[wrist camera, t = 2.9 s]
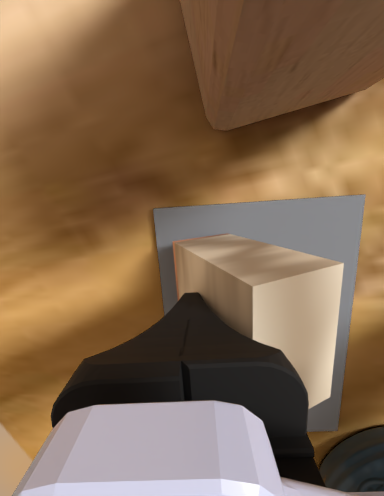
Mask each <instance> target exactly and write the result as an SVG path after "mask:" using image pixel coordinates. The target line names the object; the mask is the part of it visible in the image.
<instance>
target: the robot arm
mask: <svg viewBox="0 0 384 496" xmlns="http://www.w3.org/2000/svg"><path fill="white" fill-rule="evenodd" d="M308 408H309V400H308V392H307V390H306V388H305V386H304V383H303V381H302V380H301V378H300V376H299V374H298V373H297V371H296V370H295V368H294V367H293V365H292V364H291V362H290V361H289V360H288V358H287V357H286V356H285V355H284V353H283V352H282V350H280V349H277V348H274V347H271V346H268V345H265V344H262V343H260V342H257V341H255V340H253V339H250V338H248V337H246V336H244V335H242V334H240V333H239V332H237V331H235V330H234V329H232V328H231V327H229V326H228V325H226V324H225V323H224V322H223V321H221V320H220V319H219V318H218V317H217V316H216V315H215V314H214V313H213V312H212V310H211V309H210V308H209V307H208V305H207V304H206V303H205V301H204V300H203V298H202V296H201V295H200V294H199V293H198V292H191V293H184V294H183V295H182V297H181V298H180V299H179V301H178V302H177V303H176V304H175V305H174V306H173V308H172V309H171V310H170V311H169V312H168V313H167V314H166V315H165V316H164V317H163V318H162V319H161V320H160V321H158V322H157V323H156V324H155V325H153V326H152V327H151V328H149V329H148V330H146V331H145V332H143V333H141V334H140V335H138V336H136V337H135V338H133V339H131V340H129V341H127V342H125V343H123V344H121V345H119V346H117V347H115V348H112V349H110V350H108V351H105V352H102V353H100V354H97V355H94V356H91V357H89V358H86V359H84V360H83V361H82V363H81V364H80V365H79V367H78V368H77V370H76V371H75V372H74V374H73V375H72V377H71V378H70V380H69V381H68V383H67V384H66V386H65V387H64V389H63V390H62V392H61V394H60V395H59V397H58V398H57V400H56V401H55V403H54V404H53V408H52V413H51V421H52V427H53V429H52V431H51V432H50V434H49V436H48V437H47V439H46V440H45V442H44V444H43V445H42V447H41V449H40V450H39V452H38V454H37V455H36V457H35V459H34V460H33V462H32V464H31V466H30V467H29V469H28V470H27V472H26V473H25V475H24V477H23V478H22V480H21V482H20V483H19V485H18V487H17V488H16V490H15V491H14V493H13V495H12V496H384V492H348V493H347V492H343V491H339V490H334V489H330V488H326V486H325V483H324V481H323V479H322V477H321V474H320V472H319V470H318V468H317V465H316V463H315V461H314V459H313V457H314V449H313V446H312V444H311V442H310V440H309V438H308V435H307V422H308Z"/></svg>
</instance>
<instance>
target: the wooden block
mask: <svg viewBox="0 0 384 496" xmlns="http://www.w3.org/2000/svg"><path fill="white" fill-rule="evenodd" d="M180 4H181V9H182V13H183V18H184V22H185V26H186V31H187V35H188V40H189V44H190V49H191V53H192V57H193V62H194V66H195V71H196V75H197V79H198V84H199V88H200V93H201V97H202V102H203V106H204V110H205V115H206V118H207V120H208V121H209V123H210V124H211V126H212V127H213V129H217V130H224V131H227V130H231V129H234V128H238V127H241V126H244V125H248V124H251V123H254V122H258V121H261V120H264V119H268V118H271V117H275V116H278V115H281V114H285V113H288V112H291V111H295V110H298V109H302V108H305V107H308V106H312V105H315V104H318V103H322V102H325V101H328V100H332V99H335V98H339V97H342V96H345V95H349V94H352V93H355V92H359V91H362V90H365V89H367V88H369V87H370V86H372V85H373V84H375V83H376V82H378V81H380V80H381V79H383V78H384V0H180Z"/></svg>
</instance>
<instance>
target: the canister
mask: <svg viewBox="0 0 384 496" xmlns="http://www.w3.org/2000/svg"><path fill="white" fill-rule="evenodd" d="M319 472H320V474H321V477H322V479H323V481H324V483H325V486H326V488H330V489H334V490H339V491H343V492H347V493H348V492H384V427H378V428H373V429H369V430H366V431H363V432H360V433H358V434H355V435H353V436H351V437H349V438H348V439H346V440H344V441H343V442H341V443H340V444H339V445H337V446H336V447H335V448H334V449H333V450H332V451H331V452H330V453H329V454H328V455H327V457H326V458H325V460H324V461H323V463H322V465H321V467H320V469H319Z"/></svg>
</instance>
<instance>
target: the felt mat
mask: <svg viewBox="0 0 384 496" xmlns="http://www.w3.org/2000/svg"><path fill="white" fill-rule="evenodd" d="M364 203H365V195H348V196H334V197H319V198H304V199H289V200H274V201H259V202H244V203H229V204H214V205H199V206H184V207H169V208H154V209H153V213H154V223H155V232H156V241H157V250H158V260H159V269H160V278H161V287H162V297H163V306H164V315H166V314H167V313H168V312H169V311H170V310H171V309H172V308H173V306H174V305H175V304H176V303H177V302H178V297H177V286H176V275H175V264H174V253H173V242H172V241H179V240H185V239H192V238H199V237H206V236H213V235H220V234H226V233H228V234H232V235H236V236H240V237H244V238H248V239H252V240H256V241H260V242H264V243H267V244H271V245H275V246H279V247H283V248H287V249H291V250H295V251H299V252H303V253H306V254H310V255H314V256H318V257H322V258H326V259H330V260H334V261H338V262H342V263H344V267H343V277H342V287H341V297H340V306H339V316H338V326H337V336H336V345H335V355H334V365H333V375H332V384H331V394H330V397H329V398H328V399H326V400H324V401H322V402H320V403H319V404H317V405H315V406H313V407H311V408H310V409H308V422H307V432H312V431H338V423H339V415H340V406H341V398H342V389H343V381H344V372H345V364H346V355H347V347H348V339H349V330H350V322H351V313H352V305H353V296H354V288H355V279H356V271H357V262H358V254H359V246H360V237H361V229H362V220H363V212H364Z"/></svg>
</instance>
